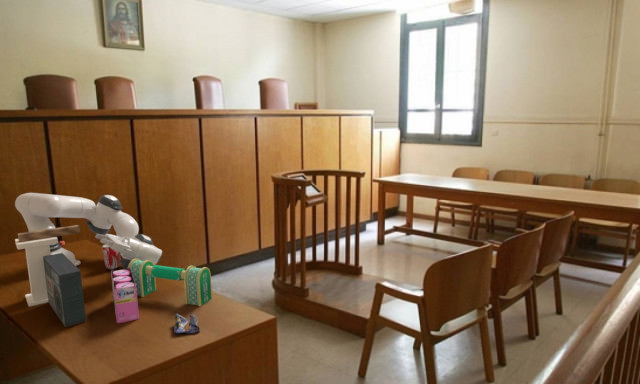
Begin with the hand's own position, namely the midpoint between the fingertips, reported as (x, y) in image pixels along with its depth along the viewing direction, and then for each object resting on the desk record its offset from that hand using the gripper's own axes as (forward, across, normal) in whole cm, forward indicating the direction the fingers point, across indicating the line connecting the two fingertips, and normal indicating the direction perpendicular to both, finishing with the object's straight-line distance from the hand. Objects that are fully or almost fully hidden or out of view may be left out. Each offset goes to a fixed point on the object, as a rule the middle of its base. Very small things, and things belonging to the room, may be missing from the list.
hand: (98, 237), depth 200 cm
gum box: (-12, -34, -19) cm, 41 cm away
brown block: (+18, 0, -6) cm, 19 cm away
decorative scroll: (-28, -32, -10) cm, 44 cm away
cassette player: (+4, -20, -28) cm, 35 cm away
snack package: (-24, -64, -13) cm, 69 cm away
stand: (+9, 0, -31) cm, 32 cm away
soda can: (-19, +22, -14) cm, 32 cm away
